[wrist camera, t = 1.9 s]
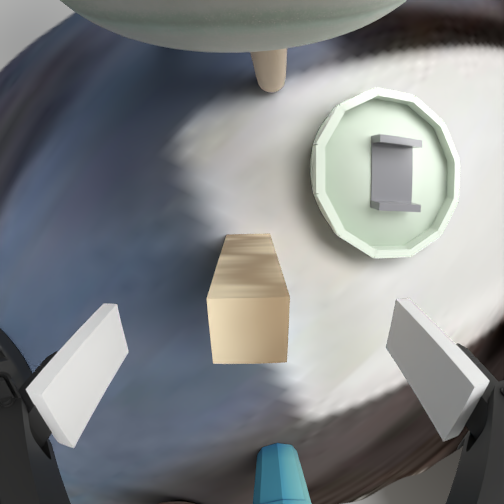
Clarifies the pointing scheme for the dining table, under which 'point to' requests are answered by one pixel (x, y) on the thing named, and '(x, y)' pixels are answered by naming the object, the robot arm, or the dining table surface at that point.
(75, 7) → the planter
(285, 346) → the tan wooden block
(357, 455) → the dining table surface
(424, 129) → the dish
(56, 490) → the robot arm
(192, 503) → the vase
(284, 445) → the cup
